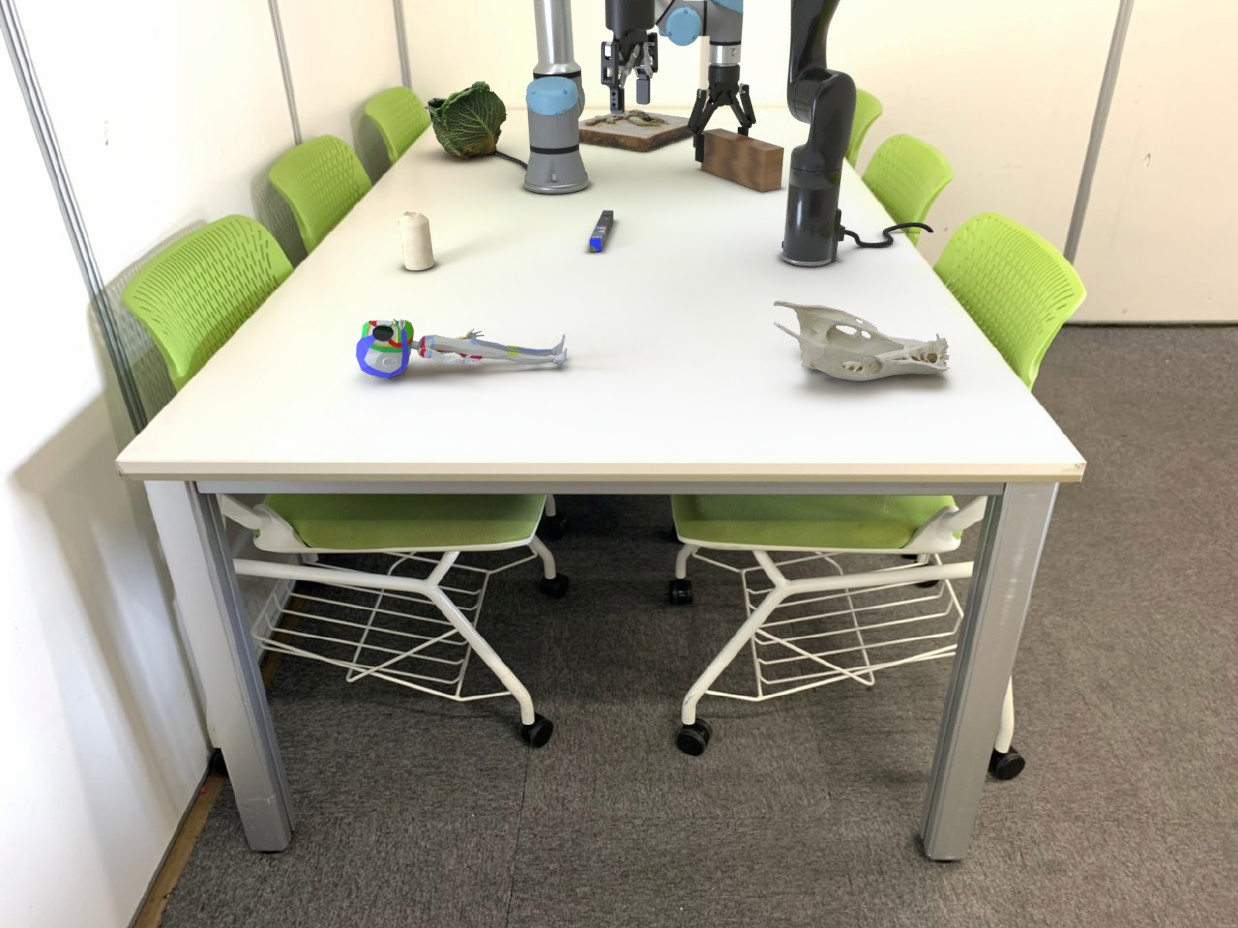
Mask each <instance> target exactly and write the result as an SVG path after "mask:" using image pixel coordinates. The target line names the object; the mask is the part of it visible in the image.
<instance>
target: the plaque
mask: <svg viewBox="0 0 1238 928" xmlns="http://www.w3.org/2000/svg"><path fill="white" fill-rule="evenodd" d="M689 119H690V117H685V116H679V115H669V114H663V113H659V112H650V111H644V110H642V109H637V108H636V109H635V108H634V109H630V110H629V109H625V112H624V113H623V114H612V113H611V112H610V113H608V114H602V115H594V117H591V118H586V119H583V120H578V125H579V143H580V142H581V143H586V144H593V145H597V146H598V145H599V146H607V147H612V148H620V149H625V150H632V151H640V152H648V151H654V150H656V149H659V148H662V147H663V146H664V147H665V146H667V145H670V144H672V143H676V142H680V141H682V140H684V139H687V138H691V137H693V133H691V132H688V131H687V130H686V128H687V125H688V122H689ZM703 131H705V129H704V130H703Z"/></svg>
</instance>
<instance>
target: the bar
mask: <svg viewBox="0 0 1238 928" xmlns="http://www.w3.org/2000/svg"><path fill="white" fill-rule="evenodd" d="M702 134H704V135H705V139H704V162H703V163H700V170H702V171H704V172H706V173H709V174H712V175H715V176H717V177H720V178H723V179H726V180H729V181H731V182H734V183H737V184H739V185H742V186H745V187H747V188H750V189H753V190H755V191H758V192H761V193H766V192H771V191H776V190H781V189H782V181H783V180H782V179H783V168H784V156H785V147H783V146H779V145H777V144H773V143H770V142H767V141H765V140H764V141H763V140H760V139H757V138H753V137H751V136H749V135H748V136H744V135H741V134H738V133H737V132H734V131H731V130H728V129H724V128H721V127H719V128H711V129H704V131H703V132H702Z"/></svg>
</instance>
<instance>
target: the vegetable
mask: <svg viewBox="0 0 1238 928" xmlns="http://www.w3.org/2000/svg"><path fill="white" fill-rule="evenodd" d="M424 109H425V110H428V113H429V117H430V119H429V120H430V121H431V123H432V129H433V132H434V134H435V138H436V140H437V142H438V143H439V144H440V145H441V146H442V148H443V149H444V151H445V152H446V153H448V154H450V155H451V156H454V157H459V158H466V159H468V158H470V157H469V156H472V155H476V154H479V153H482V154H484V153H485V154H488V155H489V154H490V155H496V153H495V151H496V150H497V151H498V146H497V144H498V142H499V139H500V136H501V134H502V133H503V132H502V131H503V130H502V129H501V126H502V125H503V123H504V122H505V121H507V116H508V113H507V108H506V105H505V102H504V101H503V100H502V98H500V96H498V94H497V93H496V92H495V91H493V90H491V87H490V85H489V84H488V83H487V82H485V80H483V81H481V80H480V81H479V80H476V81H475V82H474V83H472V84H471V86H468V87H466V88H464V89H462V90H460V91H455V92H452V93H450V95H449V96H448V97H447V98H441V97H433V98H432V99H429V100H428V101H427V105H425V106H424Z"/></svg>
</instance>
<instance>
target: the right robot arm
mask: <svg viewBox="0 0 1238 928" xmlns="http://www.w3.org/2000/svg"><path fill="white" fill-rule="evenodd" d="M840 2H841V0H790V39H789V41H790V42H789V55H788V57H789V58H788V68H787V78H786V79H787V80H786V81H787V82H786V104H787V108H788V111H789V113H790V114H791V116H792V117H793V119H796V121H799V122H800V123H804V124H807V125H809V131H808V137H807V141H806V142H805V143H804V144H799V145H797V146H794V147H793V149H792V150H791V153H790V161H789V175H788V185H787V186H788V187H787V189H788V190H787V198H786V209H785V210H786V211H785V221H784V231H783V241H781V249H782V251H781V259H782V260H783V261H784V262H786V263H788V264H790V265H793V266H794V265H795V266H799V267H820V266H821V267H822V266H824V265H828V264H830V263H832V262H836V261H837V257H838V256H837V255H838V247H839V242H844V241H845V236H849V237H851V238H853V239H854V242H855V244H856V245H857V246H859V247H861V248H870V249H871V248H873V249H875V248H882V247H883V248H884V247H887V246H891V245H892V244H893V243H894V237H893V236H892V235H891V232H894V231H897V230H901V229H906V228H919V229H922V230H924V231H926V232H927V233H929V234H932V233H934V229H933V228H932V227H931V226H929V225H928V224H926V223H922V222H916V221H913V222H911V221H909V222H903V223H899V224H895V225H892V226H888V227H886V228H884V229H883V230H882V236H883V237H884V238H885V239H886V240H884V241H879V242H867V241H862V240H861V238H860V236H859V234H858V233H856V232H855V231H852V230H849V229H846V227H845V225H842V224H841V223H842V212H843V211H842V209H840V208H839V202H840V201H839V200H840V193H841V182H842V174H843V166H844V159H845V157H846V155H847V153H848V151H849V149H850V148H849V147H850V145H851V140H852V134H853V128H854V121H855V115H856V110H857V100H858V94H857V93H858V92H857V86H856V83H855V81H854V78H853V77H852V76H851V75H849V73H846V72H844V71H841V70H836V69H830V68H828V62H827V48H828V47H827V45H828V34H829V31H830V29H829V28H830V26H831V23H832V20H833V18H834V15H835V13H836V11H837V9H838V7H839V4H840ZM604 21H605V23H604V24H605V28H606V29H607V30H609V31H611V32H612V34H613V35H612V41H605V40H603V41H601V43H600V84H601V85H602V86H606V87H607V88H608V89H609V112H610V113H612V114H623V113H624V112H625V110H626V107H625V106H626V105H625V103H626V101H625V98H626V97H625V96H626V95H625V93H626V92H625V91H626V90H625V85H626V81H627V77H628V76H630V75H631V74H632V71H633V70H634V74H635V76H636V81H635V100H636V104H637V105H641V106H643V105H644V106H648V105H649V104H650V103H651V80H652V79H653V77H654V74H657V73H658V72H659V38H658V37H659V36H658V35H659V33H658V32H656V31H655V32H654V31H650V30H653V29H654V28H655V26H656V25H655V0H604ZM608 71H609V72H608Z"/></svg>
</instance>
